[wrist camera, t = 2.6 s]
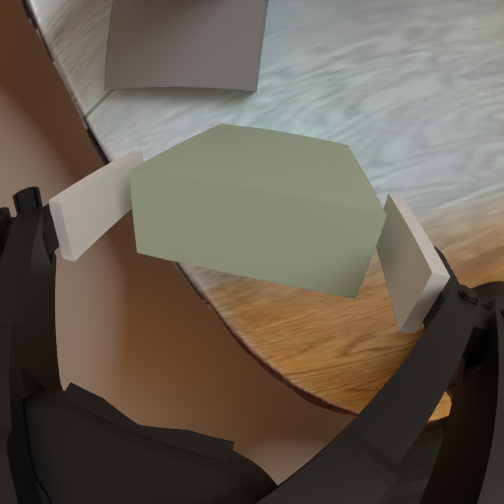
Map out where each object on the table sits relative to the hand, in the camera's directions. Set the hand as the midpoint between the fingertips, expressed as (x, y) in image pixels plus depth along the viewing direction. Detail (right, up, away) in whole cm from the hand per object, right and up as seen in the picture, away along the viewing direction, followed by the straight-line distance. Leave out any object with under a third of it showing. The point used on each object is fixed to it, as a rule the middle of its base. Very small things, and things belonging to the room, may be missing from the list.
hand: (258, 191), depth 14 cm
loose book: (+2, +5, +8) cm, 9 cm away
